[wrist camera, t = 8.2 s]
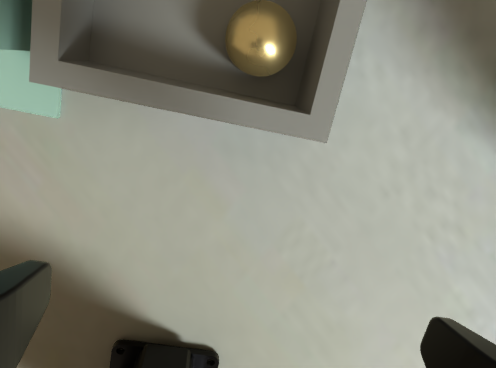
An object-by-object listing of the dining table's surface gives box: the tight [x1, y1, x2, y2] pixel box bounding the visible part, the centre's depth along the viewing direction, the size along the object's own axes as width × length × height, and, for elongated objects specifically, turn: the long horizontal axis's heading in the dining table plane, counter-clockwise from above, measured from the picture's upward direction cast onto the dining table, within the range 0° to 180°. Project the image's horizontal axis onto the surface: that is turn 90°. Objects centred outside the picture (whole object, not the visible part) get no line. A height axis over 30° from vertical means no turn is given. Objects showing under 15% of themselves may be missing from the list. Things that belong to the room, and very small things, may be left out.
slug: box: [225, 0, 297, 77], centre depth 17 cm, size 3×3×2 cm
